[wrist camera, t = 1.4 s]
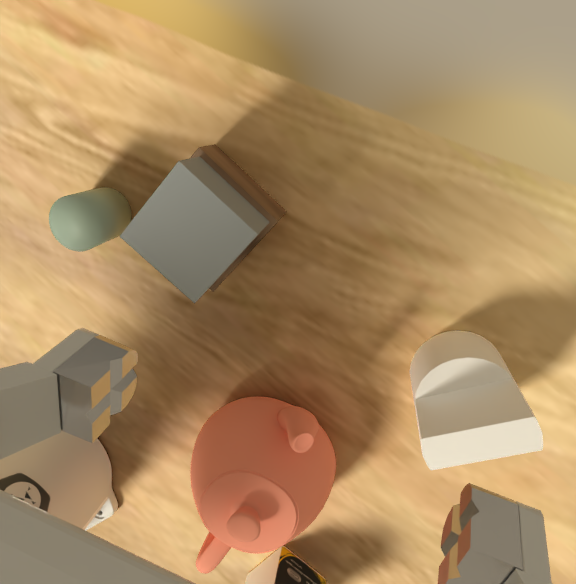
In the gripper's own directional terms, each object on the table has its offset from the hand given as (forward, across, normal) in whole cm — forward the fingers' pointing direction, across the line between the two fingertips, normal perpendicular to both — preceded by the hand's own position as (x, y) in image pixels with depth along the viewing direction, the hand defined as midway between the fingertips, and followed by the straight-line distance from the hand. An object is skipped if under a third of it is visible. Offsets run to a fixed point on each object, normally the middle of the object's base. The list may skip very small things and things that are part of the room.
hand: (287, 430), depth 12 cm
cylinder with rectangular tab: (+35, +10, -21) cm, 42 cm away
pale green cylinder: (+31, -27, -15) cm, 44 cm away
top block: (+29, -16, -11) cm, 35 cm away
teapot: (+30, -5, -35) cm, 47 cm away
